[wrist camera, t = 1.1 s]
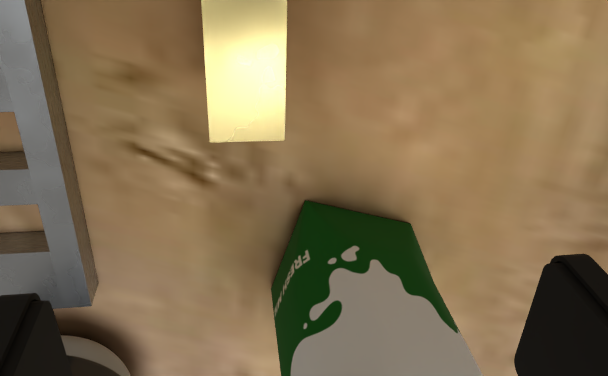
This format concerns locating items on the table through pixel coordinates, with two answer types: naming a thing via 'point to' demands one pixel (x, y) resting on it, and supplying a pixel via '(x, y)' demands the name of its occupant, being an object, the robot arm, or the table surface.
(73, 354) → the pump dispenser
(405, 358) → the milk carton
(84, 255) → the grey flat board
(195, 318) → the table surface
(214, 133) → the tan wooden block
